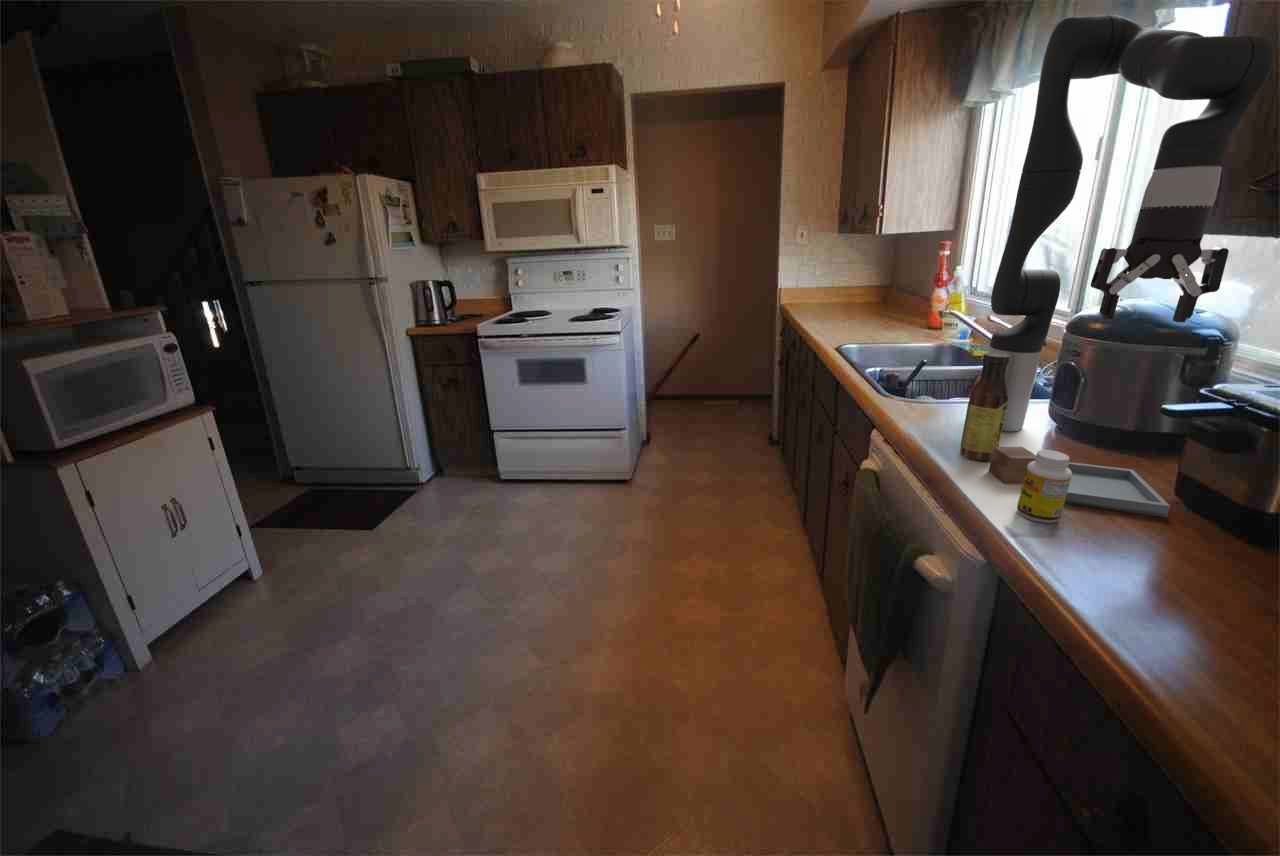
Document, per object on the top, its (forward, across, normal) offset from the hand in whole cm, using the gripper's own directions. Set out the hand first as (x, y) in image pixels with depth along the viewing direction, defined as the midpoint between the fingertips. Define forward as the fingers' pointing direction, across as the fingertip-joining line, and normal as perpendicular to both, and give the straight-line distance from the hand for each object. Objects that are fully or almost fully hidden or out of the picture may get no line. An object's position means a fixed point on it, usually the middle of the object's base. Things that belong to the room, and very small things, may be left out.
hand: (1142, 320), depth 84 cm
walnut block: (+28, +12, -1) cm, 31 cm away
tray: (+28, 0, 0) cm, 29 cm away
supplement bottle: (+29, +10, +13) cm, 33 cm away
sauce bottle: (+29, +16, -10) cm, 34 cm away
